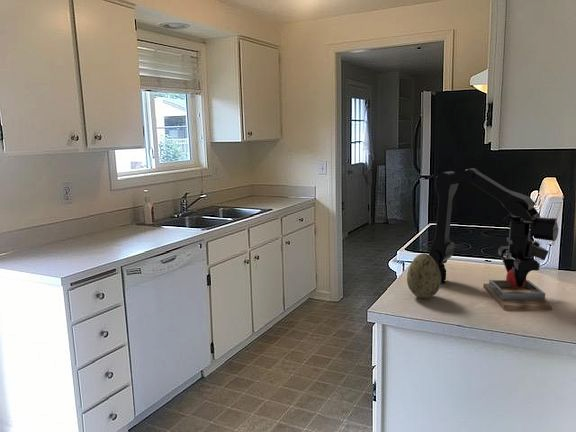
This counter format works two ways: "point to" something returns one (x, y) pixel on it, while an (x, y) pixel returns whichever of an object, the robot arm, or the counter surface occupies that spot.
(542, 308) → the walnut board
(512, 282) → the onion
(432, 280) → the decorative egg
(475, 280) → the counter surface
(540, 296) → the square metal frame
